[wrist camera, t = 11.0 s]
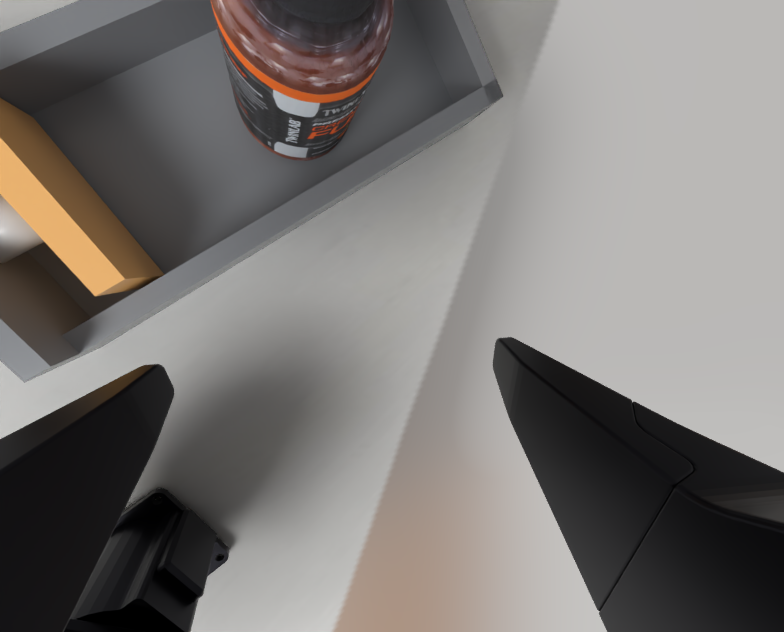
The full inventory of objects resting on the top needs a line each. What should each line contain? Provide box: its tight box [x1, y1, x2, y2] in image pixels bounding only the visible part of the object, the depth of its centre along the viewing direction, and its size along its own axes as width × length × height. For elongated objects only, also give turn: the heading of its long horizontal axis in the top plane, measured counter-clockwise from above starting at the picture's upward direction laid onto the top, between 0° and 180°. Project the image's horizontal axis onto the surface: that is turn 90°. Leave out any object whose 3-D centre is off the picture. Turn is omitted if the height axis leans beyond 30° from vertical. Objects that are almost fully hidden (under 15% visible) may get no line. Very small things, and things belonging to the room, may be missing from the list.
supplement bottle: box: [211, 0, 394, 161], centre depth 13 cm, size 6×6×11 cm
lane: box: [0, 0, 503, 383], centre depth 16 cm, size 26×11×6 cm, turn 122°
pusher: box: [0, 98, 164, 296], centre depth 14 cm, size 4×8×5 cm, turn 32°
